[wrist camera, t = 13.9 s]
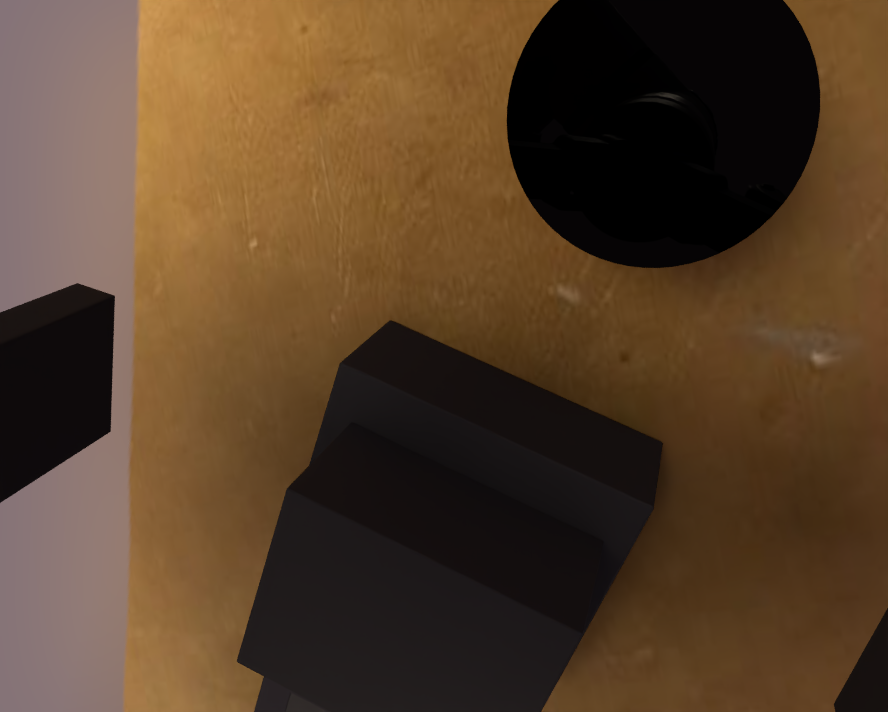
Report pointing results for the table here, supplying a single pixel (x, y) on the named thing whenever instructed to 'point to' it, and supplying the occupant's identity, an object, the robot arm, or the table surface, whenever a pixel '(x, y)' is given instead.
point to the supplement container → (662, 123)
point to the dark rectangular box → (501, 437)
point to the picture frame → (282, 700)
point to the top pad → (415, 588)
